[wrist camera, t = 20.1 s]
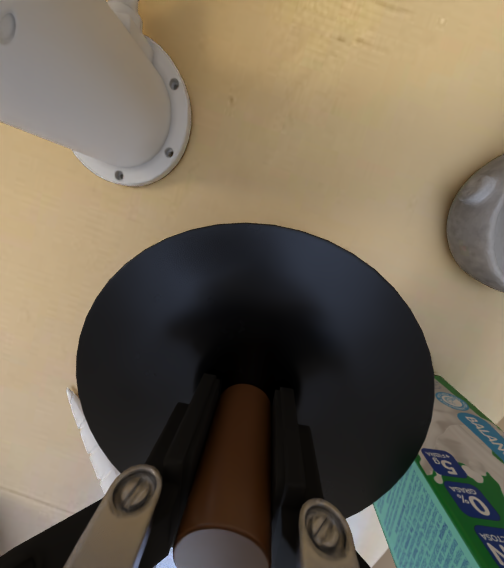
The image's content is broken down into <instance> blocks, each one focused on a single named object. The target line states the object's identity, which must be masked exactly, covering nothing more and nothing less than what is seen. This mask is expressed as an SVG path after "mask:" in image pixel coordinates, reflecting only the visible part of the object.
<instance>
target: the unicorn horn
mask: <svg viewBox="0 0 504 568" xmlns="http://www.w3.org/2000/svg"><path fill="white" fill-rule="evenodd" d="M66 392H67V396H68V400H69V403H70V404H71V410H72V413H73V416H74V418H75V421H76V424H77V426H78V428H79V429H80V428H81V431H80V434H81V437H82V440H83V442H84V445H85V448H86V450H87V453H88V454H89V453H91V456H90V460H91V463H92V465H93V468H94V470H95V473H96V475H97V478H98V479H101V482H100V485H101V488H102V490H103V493H104V495H105V494H106V492H107V491H108V489H109V487H110V485H111V484H112V483H113V481H114V480H115V479H116V477H117V476H119V475H120V472H119V471H118V470H117V469H116V468H115V467H114V466H113V465H112V464H111V462H110V461H109V460H108V458H107V457H106V455H105V454H104V453H103V451H102V450H101V448H100V447H99V445H98V443H97V442H96V440H95V438H94V436H93V434H92V433H91V431H90V428H89V426H88V424H87V421H86V419H85V416H84V414H83V410H82V406H81V403H80V399H79V398H78V397H77V395H76V394H75V393H74V392H73V391H71V390H70V389H69V388H67V389H66Z"/></svg>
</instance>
